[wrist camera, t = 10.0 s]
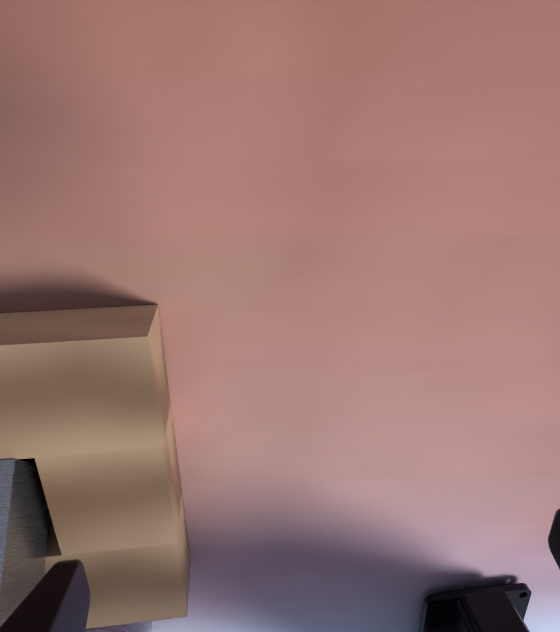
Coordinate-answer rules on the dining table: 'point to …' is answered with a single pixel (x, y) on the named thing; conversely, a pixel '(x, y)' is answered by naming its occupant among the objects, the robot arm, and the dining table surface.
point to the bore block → (100, 452)
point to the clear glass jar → (124, 628)
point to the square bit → (21, 532)
